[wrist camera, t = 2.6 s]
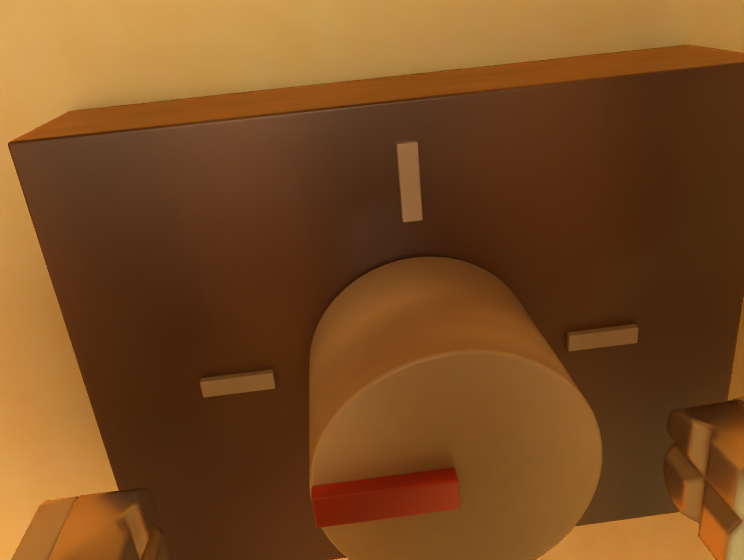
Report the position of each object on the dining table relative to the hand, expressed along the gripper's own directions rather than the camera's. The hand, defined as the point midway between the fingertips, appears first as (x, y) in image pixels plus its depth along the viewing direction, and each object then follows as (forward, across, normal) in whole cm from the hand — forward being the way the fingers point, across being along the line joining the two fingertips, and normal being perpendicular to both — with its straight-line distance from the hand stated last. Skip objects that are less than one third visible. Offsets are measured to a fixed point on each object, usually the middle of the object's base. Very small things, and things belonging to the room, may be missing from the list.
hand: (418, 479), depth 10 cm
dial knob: (+3, -1, 0) cm, 3 cm away
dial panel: (+6, -1, 0) cm, 6 cm away
